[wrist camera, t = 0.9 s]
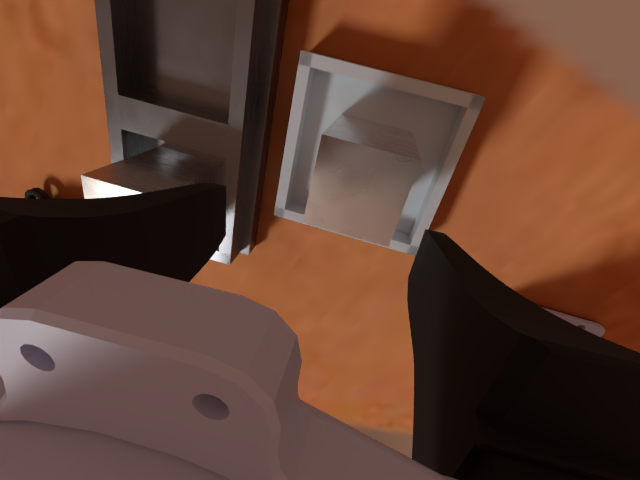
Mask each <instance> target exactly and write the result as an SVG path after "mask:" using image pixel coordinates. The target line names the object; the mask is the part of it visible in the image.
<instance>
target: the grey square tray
mask: <svg viewBox="0 0 640 480" xmlns="http://www.w3.org/2000/svg"><path fill="white" fill-rule="evenodd" d="M485 99H486V97H483V96H481V95H478V94H475V93H471V92H467V91H463V90H459V89H455V88H451V87H447V86H443V85H439V84H435V83H431V82H428V81H424V80H420V79H416V78H412V77H408V76H404V75H400V74H396V73H392V72H388V71H384V70H381V69H377V68H373V67H369V66H365V65H361V64H357V63H353V62H349V61H345V60H341V59H337V58H334V57H330V56H326V55H322V54H318V53H314V52H310V51H303V50H300V57H299V63H298V69H297V75H296V81H295V87H294V93H293V99H292V106H291V112H290V118H289V124H288V130H287V136H286V142H285V149H284V155H283V161H282V167H281V173H280V179H279V185H278V192H277V198H276V204H275V210H274V215H275V216H278V217H282V218H285V219H289V220H292V221H296V222H299V223H303V219H304V214H305V210H306V205H307V200H308V196H309V191H310V186H311V182H312V177H313V172H314V168H315V163H316V159H317V154H318V149H319V145H320V140H321V135H322V133H323V132H324V131H325V130H326V129H327V128H328V127H329V126H330V125H331V124H332V123H333V122H334V121H335V120H336V119H337V118H338V117H339V116H340V115H341V114H346V115H350V116H353V117H357V118H361V119H365V120H369V121H372V122H376V123H380V124H384V125H387V126H391V127H395V128H399V129H402V130H406V131H410V132H413V134H414V138H415V141H416V144H417V148H418V151H419V154H420V158H421V163H420V166H419V169H418V171H417V174H416V177H415V179H414V182H413V184H412V187H411V190H410V192H409V195H408V198H407V200H406V203H405V205H404V208H403V211H402V213H401V216H400V219H399V221H398V224H397V226H396V229H395V232H394V234H393V237H392V239H391V242H390V245H389V247H387V246H383V245H380V244H376V243H373V242H369V241H366V240H362V239H359V238H355V237H352V236H348V235H345V234H341V233H338V232H334V231H331V230H327V229H324V228H320V227H317V226H313V225H310V224H306V223H303V224H306V225H310V226H313V227H317V228H320V229H324V230H327V231H331V232H334V233H338V234H341V235H345V236H348V237H352V238H355V239H359V240H362V241H365V242H369V243H372V244H376V245H379V246H383V247H386V248H390V249H393V250H397V251H400V252H404V253H407V254H411V255H414V256H416V254H417V251H418V248H419V246H420V243H421V240H422V237H423V234H424V231H425V229H427V230H428V229H429V227H430V224H431V222H432V220H433V218H434V215H435V213H436V211H437V208H438V206H439V204H440V202H441V199H442V197H443V195H444V193H445V190H446V188H447V186H448V183H449V181H450V179H451V177H452V174H453V172H454V170H455V167H456V165H457V163H458V161H459V158H460V156H461V154H462V152H463V149H464V147H465V145H466V142H467V140H468V138H469V136H470V133H471V131H472V129H473V127H474V124H475V122H476V120H477V117H478V115H479V113H480V111H481V108H482V106H483V104H484V101H485Z"/></svg>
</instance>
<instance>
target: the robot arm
mask: <svg viewBox="0 0 640 480" xmlns="http://www.w3.org/2000/svg"><path fill="white" fill-rule="evenodd" d="M225 236H226V186H223V185H219V184H214V183H198V184H191V185H186V186H180V187H175V188H169V189H164V190H158V191H152V192H146V193H140V194H133V195H126V196H117V197H105V198H91V199H27V198H8V197H0V480H640V353H638V352H636V351H633V350H631V349H628V348H626V347H623V346H621V345H618V344H615V343H613V342H610V341H608V340H606V339H603V338H601V337H602V336H603V335H604V333H605V329H604V328H603V327H602V325H601V324H598V323H595V322H592V321H588V320H585V319H581V318H578V317H574V316H571V315H567V314H564V313H561V312H557V311H554V310H550V309H547V308H543V307H540V306H538V305H536V304H534V303H533V302H531V301H529V300H528V299H526V298H524V297H523V296H521V295H520V294H518V293H517V292H515V291H514V290H512V289H511V288H509V287H508V286H506V285H505V284H504V283H502V282H501V281H500V280H498V279H497V278H496V277H494V276H493V275H492V274H491V273H489V272H488V271H487V270H486V269H484V268H483V267H482V266H481V265H480V264H478V263H477V262H476V261H475V260H474V259H473V258H472V257H471V256H469V255H468V254H467V253H466V252H465V251H464V250H463V249H462V248H461V247H460V246H458V245H457V244H456V243H455V242H454V241H453V240H452V239H451V238H449V237H448V236H447V235H445V234H444V233H440V232H436V231H431V230H427V229H425V231H424V234H423V237H422V240H421V243H420V246H419V248H418V251H417V254H416V257H415V260H414V263H413V266H412V269H411V272H410V274H409V277H408V299H407V301H408V311H409V320H410V328H411V337H412V345H413V354H414V425H413V448H412V449H413V450H412V459H411V458H409V457H407V456H405V455H403V454H401V453H400V452H398V451H396V450H394V449H392V448H390V447H388V446H386V445H384V444H383V443H381V442H379V441H377V440H375V439H373V438H371V437H370V436H368V435H366V434H364V433H362V432H360V431H358V430H356V429H355V428H353V427H351V426H349V425H347V424H345V423H343V422H341V421H340V420H338V419H336V418H334V417H332V416H330V415H328V414H326V413H325V412H323V411H321V410H319V409H317V408H315V407H313V406H311V405H310V404H308V403H306V402H304V401H302V400H300V399H299V397H298V379H299V374H300V368H301V362H302V359H301V354H300V349H299V343H298V338H297V335H296V334H295V333H294V332H293V331H292V329H291V328H290V327H289V326H288V325H287V324H286V323H285V322H284V320H283V319H282V318H281V317H280V316H279V315H278V314H277V312H276V311H274V310H272V309H270V308H268V307H265V306H263V305H261V304H259V303H257V302H255V301H253V300H251V299H248V298H246V297H244V296H241V295H237V294H233V293H229V292H225V291H221V290H217V289H213V288H209V287H205V286H201V285H197V284H193V283H189V282H190V280H191V279H192V278H193V277H194V276H195V275H196V274H197V273H198V272H199V271H200V270H201V268H202V267H203V266H204V265H205V264H206V263H207V262H208V261H209V259H210V258H211V257H212V256H213V255H214V253H215V252H216V250H217V249H218V247H219V246H220V244H221V243H222V241H223V239H224V238H225ZM579 325H582V326H580V327H577V326H579Z"/></svg>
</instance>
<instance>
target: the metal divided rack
mask: <svg viewBox="0 0 640 480" xmlns="http://www.w3.org/2000/svg"><path fill="white" fill-rule="evenodd" d="M288 2H289V0H95V9H96V19H97V28H98V37H99V47H100V56H101V66H102V75H103V85H104V94H105V104H106V113H107V123H108V132H109V141H110V151H111V160H112V163H115V162H118V161H121V160H123V159H126V158H129V157H132V156H134V155H137V154H140V153H143V152H145V151H148V150H151V149H154V148H156V147H159V146H160V147H164V148H167V149H171V150H174V151H178V152H181V153H185V154H189V155H192V156H196V157H199V158H203V159H206V160H210V161H213V162H217V163H220V175H219V185H223V186H226V236H225V238H224V239H223V241H222V243H221V244H220V246H219V247H218V249H217V250H216V252H215V253H214V255H213V256H212V257H211V258H210V259H211V260H214V261H218V262H221V263H225V264H228V265H230V264H231V263H232V262H233V260H234V259H235V258H236V257H237V255H238V254H239V253H244V254H247V255H249V254H250V252H251V251H252V250H253V248H254V247H255V241H256V234H257V227H258V219H259V212H260V205H261V198H262V190H263V183H264V176H265V169H266V161H267V154H268V147H269V140H270V132H271V125H272V118H273V111H274V103H275V96H276V89H277V82H278V74H279V67H280V60H281V53H282V45H283V38H284V31H285V24H286V16H287V9H288Z"/></svg>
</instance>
